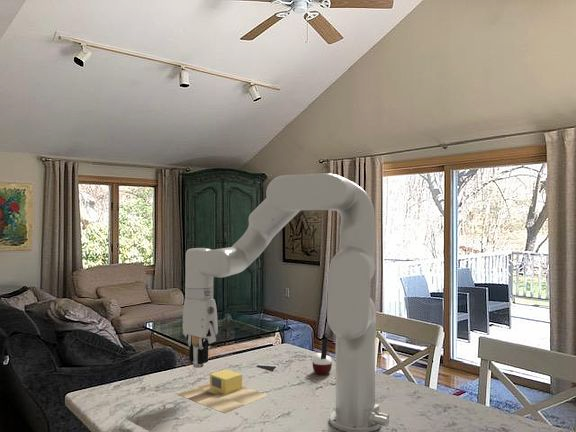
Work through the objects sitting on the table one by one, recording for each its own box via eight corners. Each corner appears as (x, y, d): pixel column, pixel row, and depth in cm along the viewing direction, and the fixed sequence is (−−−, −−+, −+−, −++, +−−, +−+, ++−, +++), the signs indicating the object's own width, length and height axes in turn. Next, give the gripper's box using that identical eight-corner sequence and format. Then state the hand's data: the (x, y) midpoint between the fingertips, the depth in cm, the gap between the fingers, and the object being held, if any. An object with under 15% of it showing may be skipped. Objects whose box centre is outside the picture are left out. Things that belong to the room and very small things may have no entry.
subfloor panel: (268, 399, 127) (268, 394, 128) (224, 418, 115) (224, 413, 115) (220, 383, 141) (220, 379, 141) (176, 398, 128) (176, 393, 128)
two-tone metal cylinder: (207, 365, 127) (207, 332, 127) (199, 368, 124) (199, 335, 124) (197, 363, 128) (197, 330, 128) (189, 367, 125) (189, 333, 125)
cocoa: (314, 369, 154) (313, 333, 155) (333, 370, 153) (332, 333, 154) (310, 378, 145) (308, 339, 146) (330, 378, 144) (328, 339, 144)
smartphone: (244, 381, 143) (244, 378, 143) (258, 366, 158) (258, 363, 158) (266, 383, 142) (266, 380, 142) (278, 367, 157) (278, 365, 157)
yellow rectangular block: (242, 388, 133) (242, 374, 133) (225, 394, 128) (225, 379, 128) (226, 382, 137) (226, 369, 137) (209, 388, 133) (209, 374, 133)
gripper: (229, 295, 124) (229, 364, 124) (191, 289, 134) (191, 353, 134) (207, 298, 118) (207, 371, 118) (169, 292, 129) (169, 358, 128)
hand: (198, 361), depth 126 cm, fingers closed on two-tone metal cylinder, 2 cm apart
